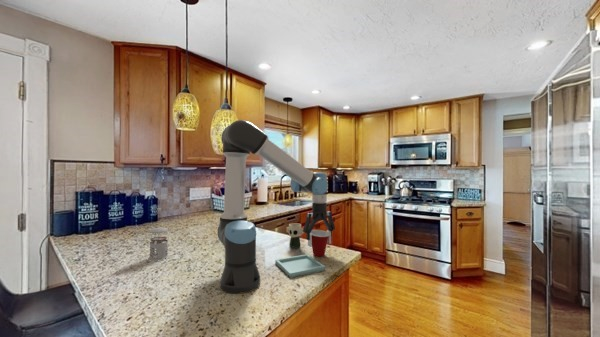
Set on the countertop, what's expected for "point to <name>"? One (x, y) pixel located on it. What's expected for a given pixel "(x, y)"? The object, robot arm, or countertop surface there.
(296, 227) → the character mug
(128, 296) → the countertop surface
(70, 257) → the countertop surface
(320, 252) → the plastic cup
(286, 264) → the tray
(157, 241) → the french press
